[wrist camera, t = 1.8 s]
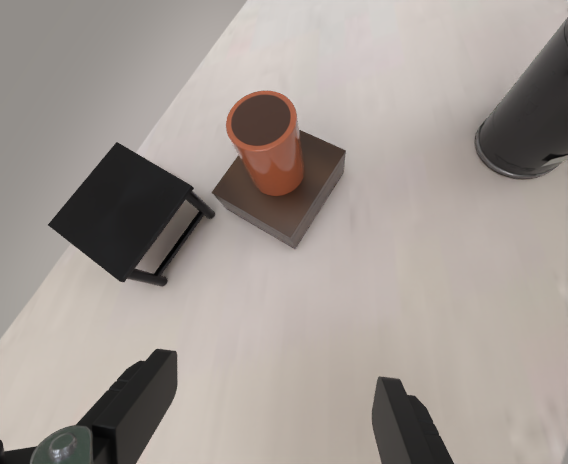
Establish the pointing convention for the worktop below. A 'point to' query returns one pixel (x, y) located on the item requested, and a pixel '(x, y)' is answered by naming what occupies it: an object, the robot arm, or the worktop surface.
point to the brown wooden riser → (290, 207)
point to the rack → (126, 214)
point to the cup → (267, 141)
